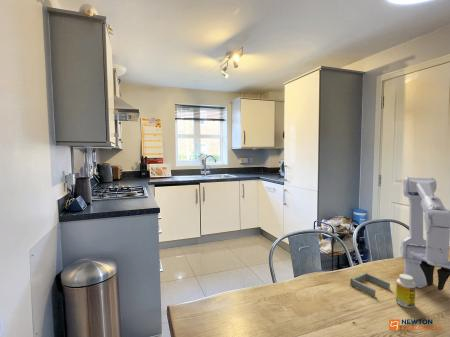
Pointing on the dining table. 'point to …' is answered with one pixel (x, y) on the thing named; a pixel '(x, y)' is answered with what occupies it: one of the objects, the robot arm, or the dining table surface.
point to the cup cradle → (362, 277)
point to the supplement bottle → (405, 291)
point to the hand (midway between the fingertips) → (435, 287)
